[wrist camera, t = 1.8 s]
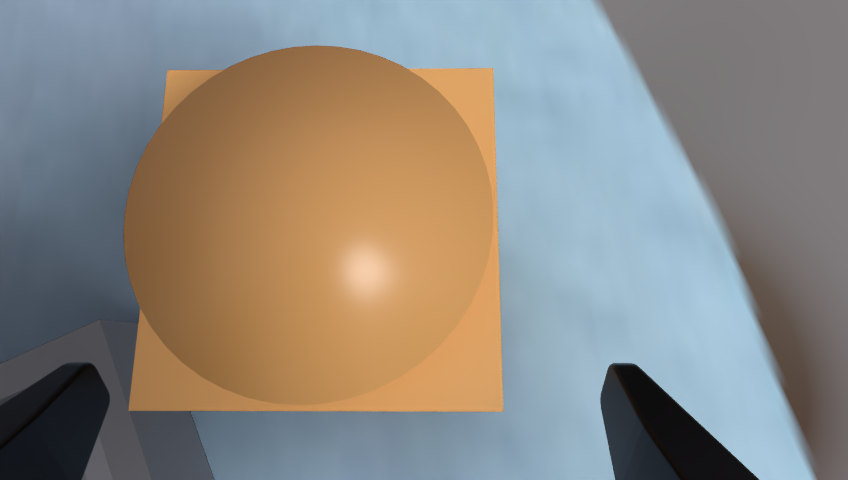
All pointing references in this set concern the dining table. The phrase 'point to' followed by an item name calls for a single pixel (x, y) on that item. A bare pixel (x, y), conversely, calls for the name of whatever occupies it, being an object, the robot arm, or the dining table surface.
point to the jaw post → (318, 239)
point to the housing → (116, 407)
